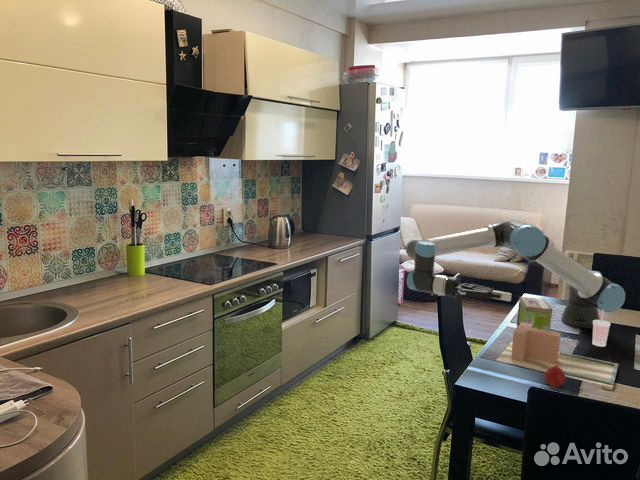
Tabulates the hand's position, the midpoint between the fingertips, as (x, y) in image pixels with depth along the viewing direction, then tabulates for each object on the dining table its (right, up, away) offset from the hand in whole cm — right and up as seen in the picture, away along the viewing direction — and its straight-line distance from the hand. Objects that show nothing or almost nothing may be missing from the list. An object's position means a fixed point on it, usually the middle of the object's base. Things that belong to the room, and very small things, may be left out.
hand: (510, 297), depth 190 cm
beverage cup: (+40, -20, +15) cm, 47 cm away
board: (+14, -23, -5) cm, 27 cm away
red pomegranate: (+5, -26, -23) cm, 35 cm away
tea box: (+16, -19, +21) cm, 32 cm away
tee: (+8, -21, -1) cm, 23 cm away
